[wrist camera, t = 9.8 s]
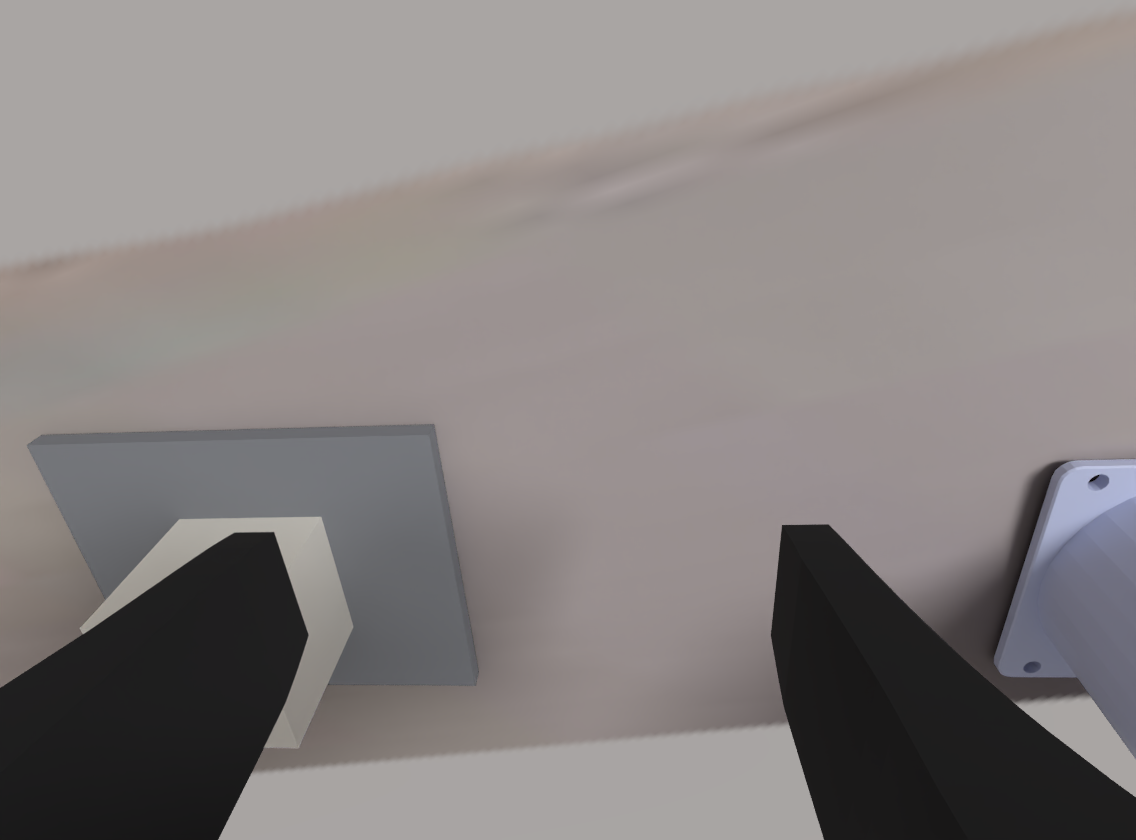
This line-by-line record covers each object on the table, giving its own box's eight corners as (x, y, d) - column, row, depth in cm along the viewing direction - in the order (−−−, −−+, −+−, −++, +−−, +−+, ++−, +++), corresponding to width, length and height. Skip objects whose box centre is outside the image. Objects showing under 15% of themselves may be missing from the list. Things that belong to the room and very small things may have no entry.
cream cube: (321, 516, 21) (252, 627, 17) (353, 626, 23) (299, 748, 19) (179, 519, 21) (79, 628, 17) (224, 627, 23) (144, 746, 19)
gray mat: (434, 424, 20) (428, 434, 19) (478, 671, 24) (475, 685, 24) (41, 435, 21) (26, 445, 20) (157, 670, 26) (148, 683, 25)
